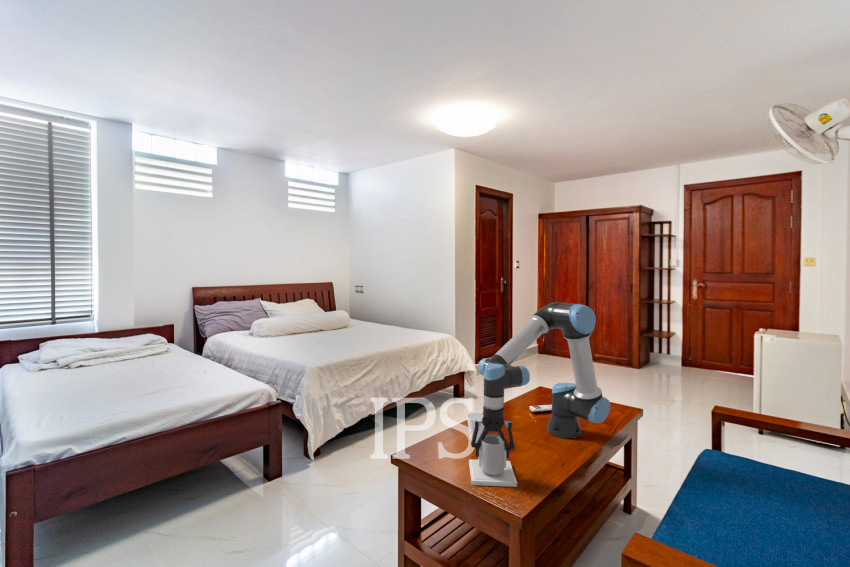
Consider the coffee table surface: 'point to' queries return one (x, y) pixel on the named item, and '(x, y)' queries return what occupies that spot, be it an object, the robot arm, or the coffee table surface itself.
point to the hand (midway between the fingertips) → (492, 465)
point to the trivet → (492, 476)
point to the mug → (492, 455)
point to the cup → (471, 424)
